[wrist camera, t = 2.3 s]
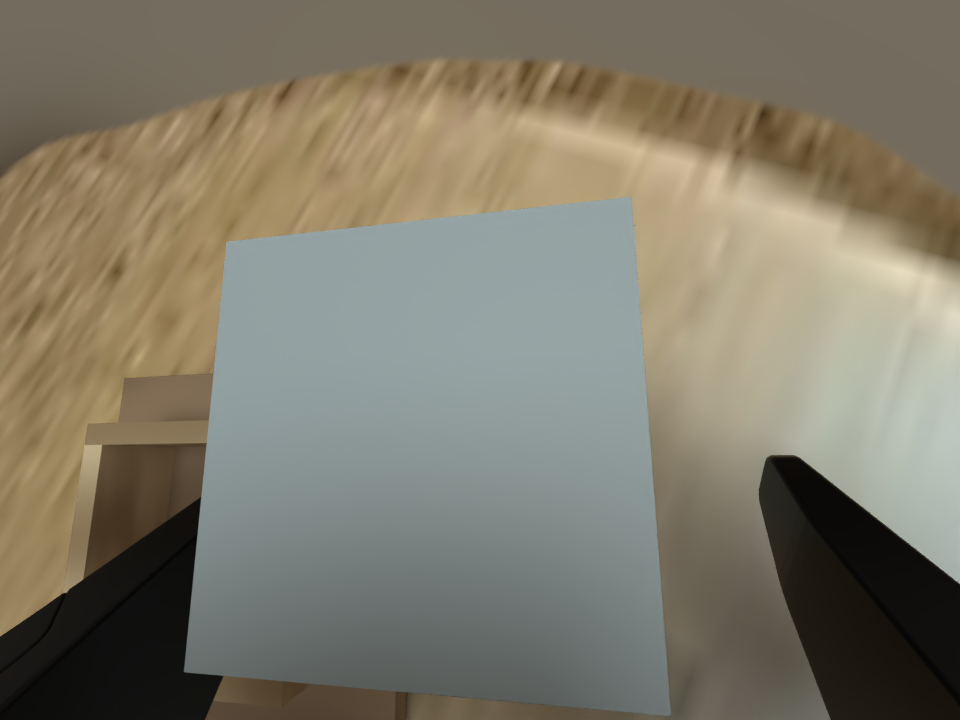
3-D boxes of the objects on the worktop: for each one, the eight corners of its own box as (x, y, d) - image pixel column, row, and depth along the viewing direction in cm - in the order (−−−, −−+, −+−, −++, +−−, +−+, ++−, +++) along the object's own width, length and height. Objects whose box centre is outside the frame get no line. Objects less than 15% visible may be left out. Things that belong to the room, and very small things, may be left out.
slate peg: (606, 519, 16) (670, 715, 4) (475, 517, 17) (184, 672, 5) (598, 387, 17) (631, 196, 5) (475, 392, 18) (225, 241, 6)
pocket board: (405, 726, 16) (349, 808, 12) (105, 694, 19) (-18, 755, 15) (412, 369, 19) (367, 346, 15) (145, 381, 21) (47, 364, 17)
